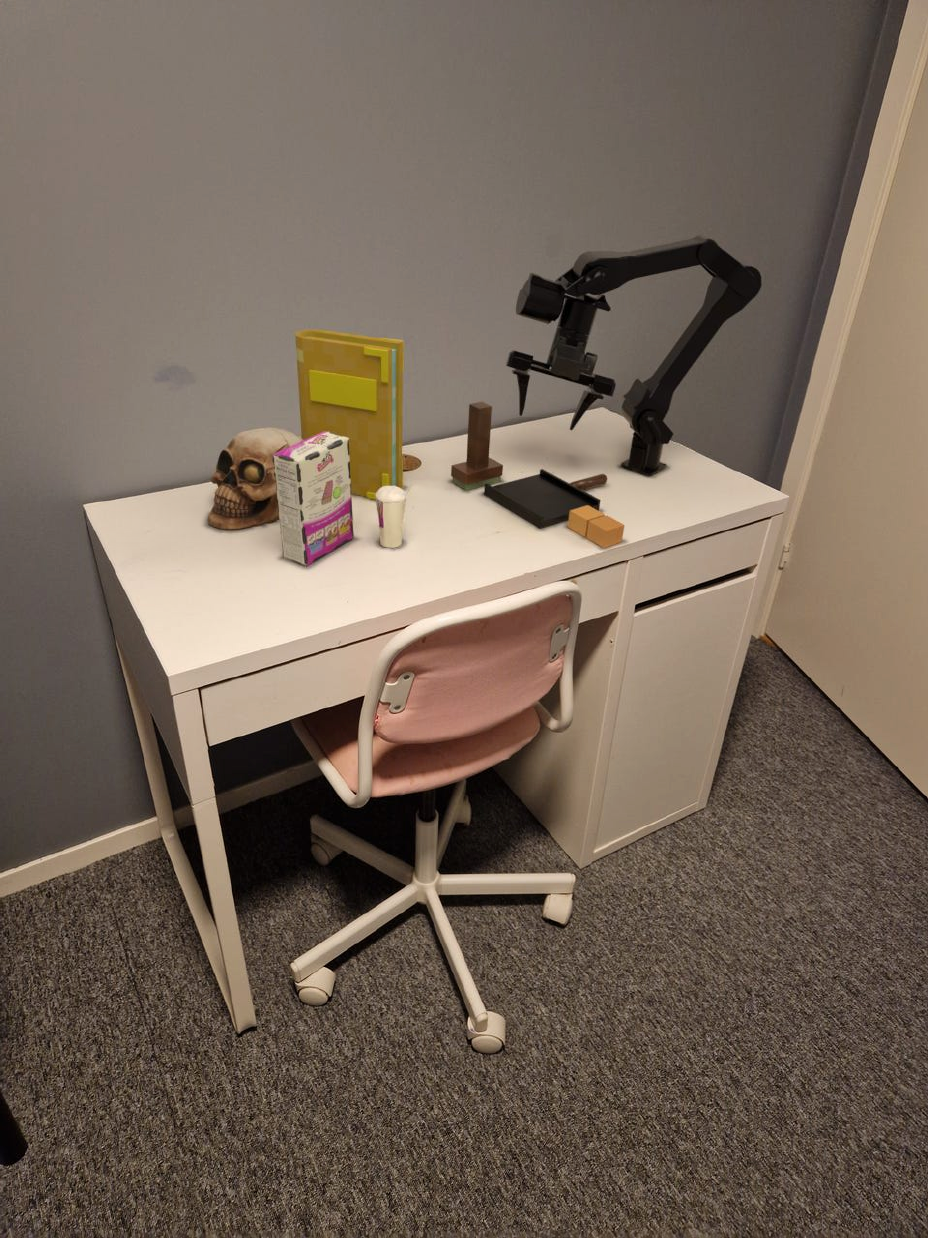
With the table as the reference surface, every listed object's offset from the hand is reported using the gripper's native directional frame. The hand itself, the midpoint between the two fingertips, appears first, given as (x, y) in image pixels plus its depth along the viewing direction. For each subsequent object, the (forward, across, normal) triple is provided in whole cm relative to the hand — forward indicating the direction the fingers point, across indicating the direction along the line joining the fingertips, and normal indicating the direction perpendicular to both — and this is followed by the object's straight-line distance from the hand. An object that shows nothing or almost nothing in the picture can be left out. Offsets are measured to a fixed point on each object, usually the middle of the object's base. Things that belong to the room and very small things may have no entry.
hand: (545, 422), depth 149 cm
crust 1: (+13, +9, -17) cm, 23 cm away
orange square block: (+13, +12, -20) cm, 27 cm away
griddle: (+11, +6, -6) cm, 14 cm away
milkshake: (+22, -20, -25) cm, 39 cm away
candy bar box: (+25, -30, -27) cm, 48 cm away
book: (+19, -30, -5) cm, 36 cm away
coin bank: (+24, -42, -15) cm, 51 cm away
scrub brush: (+13, -9, -1) cm, 16 cm away
